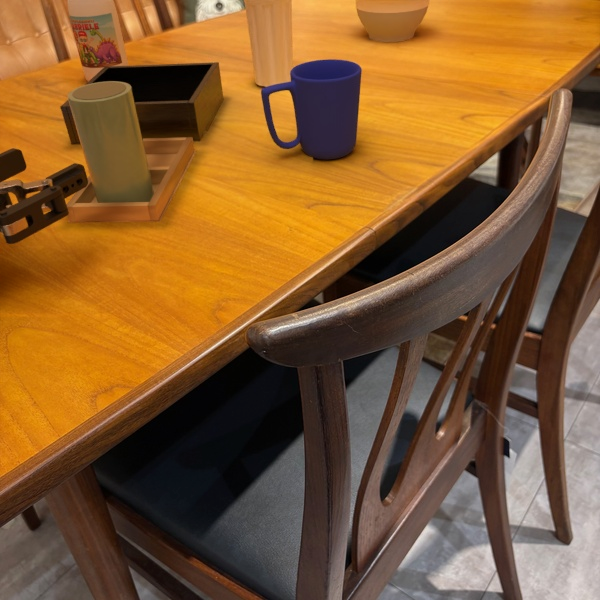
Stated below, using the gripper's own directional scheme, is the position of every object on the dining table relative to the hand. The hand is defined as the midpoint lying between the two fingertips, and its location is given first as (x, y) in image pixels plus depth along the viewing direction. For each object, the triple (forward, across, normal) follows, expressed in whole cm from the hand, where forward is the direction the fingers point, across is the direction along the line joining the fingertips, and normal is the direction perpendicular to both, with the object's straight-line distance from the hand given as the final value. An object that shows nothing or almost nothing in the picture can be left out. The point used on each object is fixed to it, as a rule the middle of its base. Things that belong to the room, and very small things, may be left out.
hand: (51, 165), depth 58 cm
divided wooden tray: (+12, +2, +8) cm, 14 cm away
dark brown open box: (+29, +15, +8) cm, 33 cm away
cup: (+50, +7, +8) cm, 51 cm away
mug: (+28, -13, +8) cm, 31 cm away
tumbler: (+8, 0, +7) cm, 11 cm away
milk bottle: (+42, +37, +8) cm, 57 cm away
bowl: (+83, +1, +8) cm, 84 cm away
